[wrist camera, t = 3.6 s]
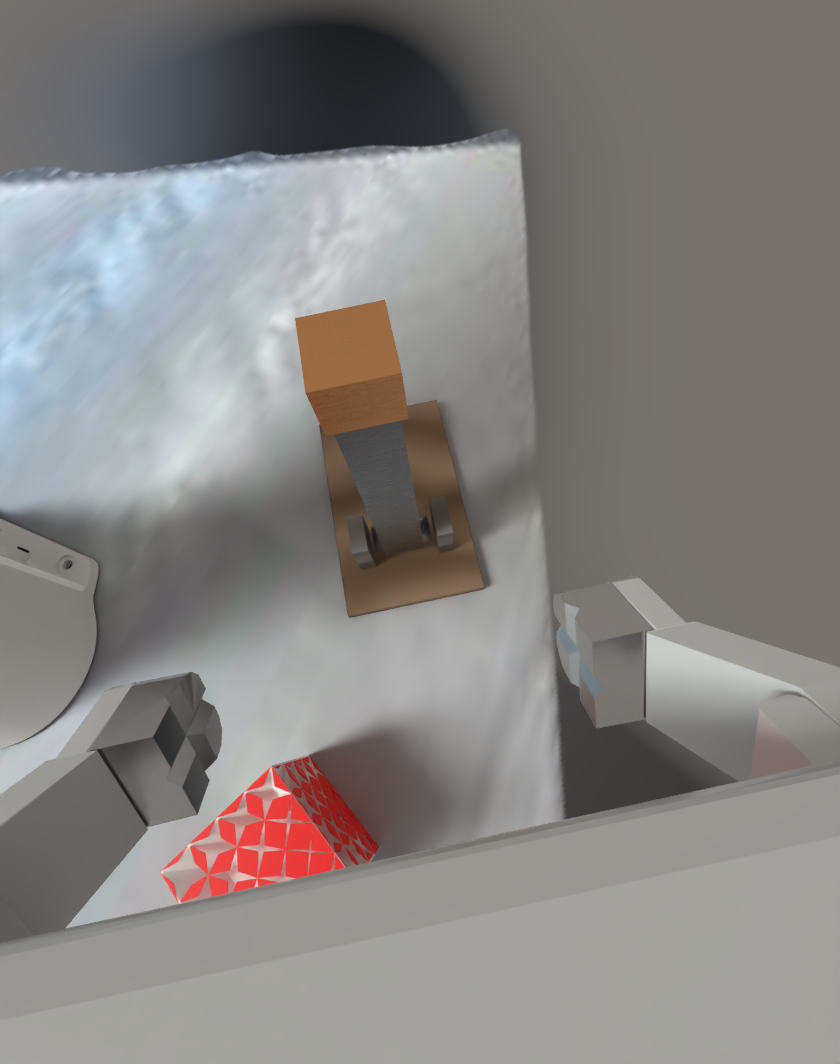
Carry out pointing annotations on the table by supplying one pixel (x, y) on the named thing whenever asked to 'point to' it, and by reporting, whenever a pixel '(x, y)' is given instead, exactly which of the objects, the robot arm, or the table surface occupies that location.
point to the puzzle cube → (272, 836)
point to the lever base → (451, 551)
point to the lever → (365, 414)
